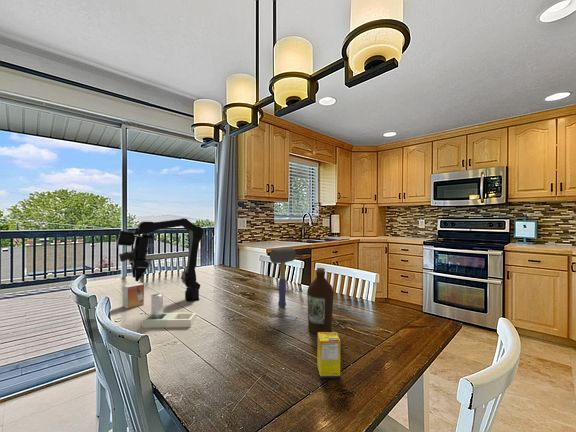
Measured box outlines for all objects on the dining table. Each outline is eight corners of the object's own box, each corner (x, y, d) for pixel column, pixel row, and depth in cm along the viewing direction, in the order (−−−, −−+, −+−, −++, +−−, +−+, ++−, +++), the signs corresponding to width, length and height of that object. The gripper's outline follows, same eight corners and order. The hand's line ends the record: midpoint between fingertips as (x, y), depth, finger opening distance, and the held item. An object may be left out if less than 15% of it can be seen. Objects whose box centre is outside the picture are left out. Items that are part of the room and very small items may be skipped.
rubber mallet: (277, 312, 130) (277, 249, 130) (267, 308, 135) (268, 247, 135) (296, 307, 138) (297, 247, 138) (286, 303, 144) (287, 246, 143)
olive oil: (313, 322, 118) (314, 265, 118) (336, 328, 113) (337, 267, 113) (302, 331, 109) (303, 269, 109) (327, 338, 104) (328, 272, 103)
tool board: (142, 327, 111) (142, 320, 111) (151, 319, 119) (151, 312, 119) (190, 327, 112) (190, 319, 112) (196, 319, 120) (196, 312, 120)
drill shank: (162, 320, 118) (163, 293, 118) (162, 324, 114) (162, 295, 114) (151, 322, 116) (151, 294, 116) (150, 326, 112) (151, 297, 112)
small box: (127, 309, 132) (127, 287, 132) (122, 306, 135) (122, 285, 135) (144, 304, 138) (144, 284, 138) (139, 302, 141) (139, 282, 141)
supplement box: (336, 367, 84) (336, 331, 84) (340, 378, 78) (341, 340, 78) (316, 367, 84) (317, 331, 84) (319, 379, 78) (320, 340, 78)
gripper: (120, 243, 136) (114, 275, 134) (124, 247, 121) (117, 283, 119) (144, 245, 142) (139, 275, 141) (151, 249, 127) (145, 283, 126)
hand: (135, 279), depth 132 cm, fingers open, 9 cm apart
